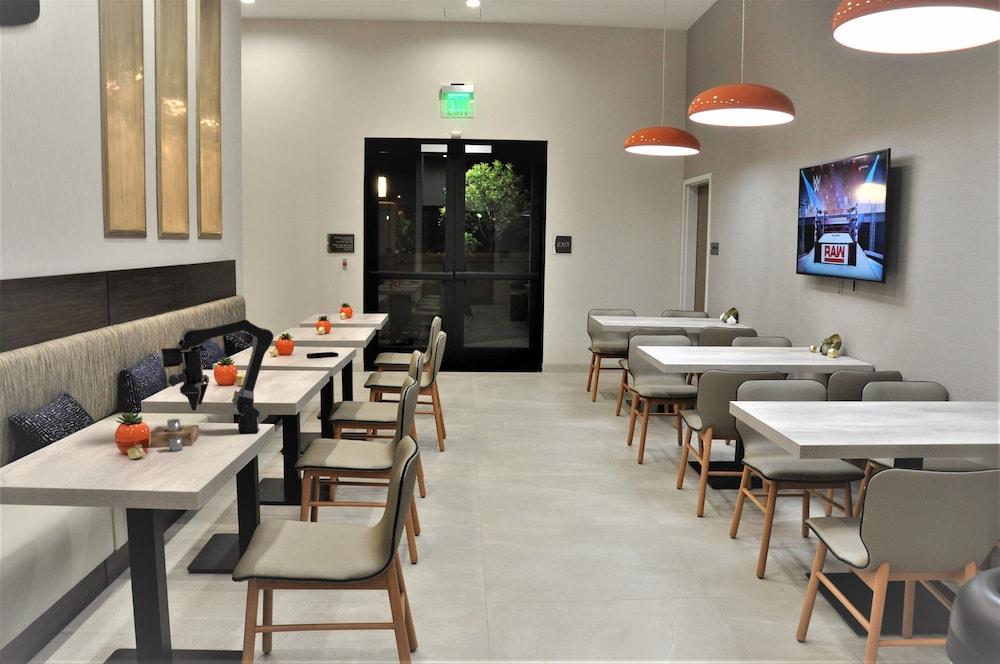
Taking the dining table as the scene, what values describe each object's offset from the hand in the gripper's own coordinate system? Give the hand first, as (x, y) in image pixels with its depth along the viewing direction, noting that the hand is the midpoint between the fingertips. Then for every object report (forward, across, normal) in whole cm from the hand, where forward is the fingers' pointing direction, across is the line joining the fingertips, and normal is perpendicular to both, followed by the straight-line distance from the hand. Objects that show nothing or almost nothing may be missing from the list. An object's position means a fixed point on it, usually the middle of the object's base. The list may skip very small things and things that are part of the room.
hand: (196, 407), depth 273 cm
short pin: (+11, +14, -5) cm, 19 cm away
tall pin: (+11, +3, -8) cm, 14 cm away
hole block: (+11, +3, -8) cm, 14 cm away
